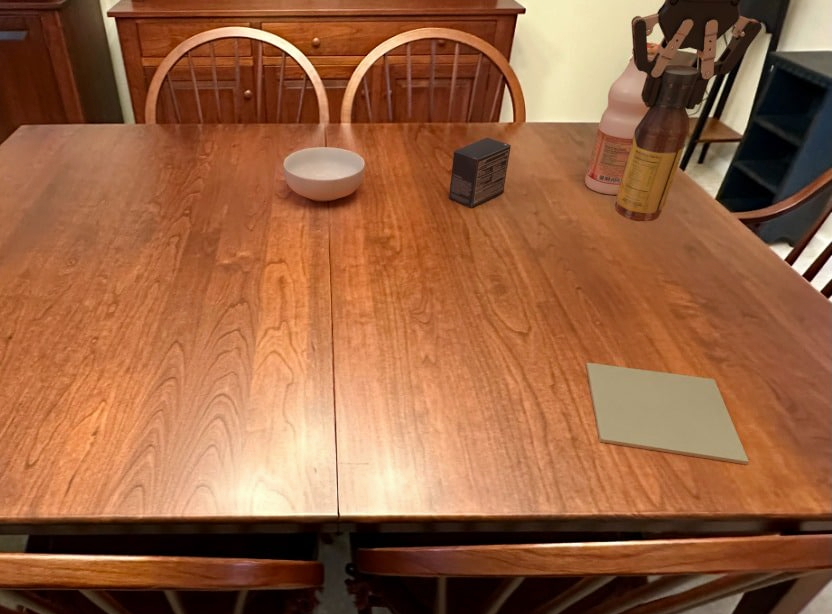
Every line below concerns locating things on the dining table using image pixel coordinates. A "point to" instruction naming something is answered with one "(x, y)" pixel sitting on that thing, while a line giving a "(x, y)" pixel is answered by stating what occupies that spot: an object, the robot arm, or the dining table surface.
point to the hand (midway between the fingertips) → (668, 105)
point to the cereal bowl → (324, 172)
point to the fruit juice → (618, 128)
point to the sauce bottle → (657, 147)
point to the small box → (479, 172)
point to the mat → (663, 413)
